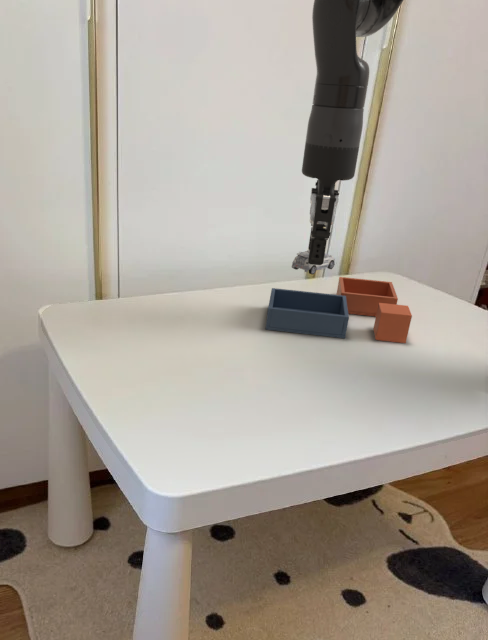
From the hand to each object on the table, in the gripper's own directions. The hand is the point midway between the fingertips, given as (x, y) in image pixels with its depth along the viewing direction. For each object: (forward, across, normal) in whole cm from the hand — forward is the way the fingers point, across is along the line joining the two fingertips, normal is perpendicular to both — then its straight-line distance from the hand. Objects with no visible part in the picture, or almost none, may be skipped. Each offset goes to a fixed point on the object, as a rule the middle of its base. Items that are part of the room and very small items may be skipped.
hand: (315, 257), depth 97 cm
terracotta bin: (+11, +11, -10) cm, 18 cm away
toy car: (+2, 0, 0) cm, 2 cm away
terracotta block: (+11, -2, -13) cm, 17 cm away
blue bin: (+11, 0, 0) cm, 11 cm away
